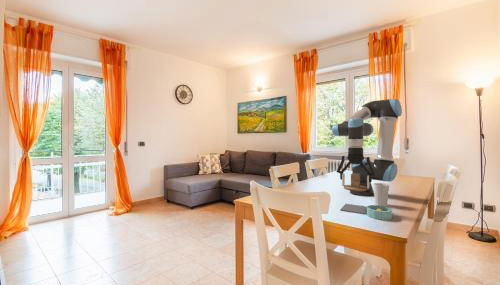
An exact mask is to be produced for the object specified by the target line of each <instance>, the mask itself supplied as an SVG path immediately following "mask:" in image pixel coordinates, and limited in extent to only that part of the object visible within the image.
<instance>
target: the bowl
mask: <svg viewBox="0 0 500 285" xmlns="http://www.w3.org/2000/svg"><path fill="white" fill-rule="evenodd" d="M366 206H367V215H366V216H367V217H369V218H371V219H374V220H378V221H390V220H392V219H393V209H392V208H390V207H388V206H386V207H385V206H380V205H375V204H371V205H366ZM377 209H381V210H382V211H377Z"/></svg>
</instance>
